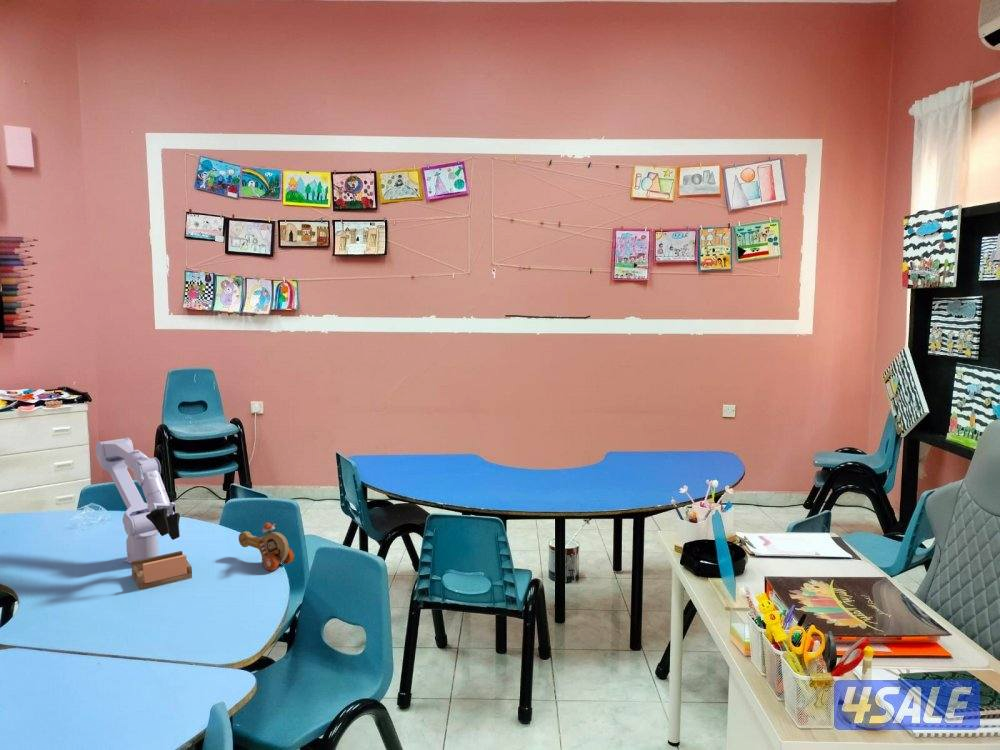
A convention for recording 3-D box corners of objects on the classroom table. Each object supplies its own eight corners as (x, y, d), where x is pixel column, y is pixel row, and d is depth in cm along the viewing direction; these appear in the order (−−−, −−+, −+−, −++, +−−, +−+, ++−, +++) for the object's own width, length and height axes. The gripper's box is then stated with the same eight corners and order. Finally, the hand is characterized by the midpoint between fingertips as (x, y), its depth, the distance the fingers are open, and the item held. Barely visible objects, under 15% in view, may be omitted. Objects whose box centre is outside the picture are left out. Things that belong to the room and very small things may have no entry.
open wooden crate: (132, 576, 206) (131, 561, 206) (182, 564, 215) (181, 550, 214) (140, 590, 197) (139, 575, 196) (192, 577, 205) (191, 563, 205)
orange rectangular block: (143, 582, 198) (142, 563, 198) (186, 572, 205) (185, 554, 204) (144, 583, 197) (143, 565, 197) (187, 573, 204) (186, 555, 203)
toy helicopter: (277, 573, 209) (275, 530, 207) (230, 559, 219) (228, 518, 217) (297, 564, 216) (295, 521, 214) (251, 551, 226) (249, 510, 224)
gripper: (159, 484, 201) (174, 526, 197) (178, 494, 214) (193, 533, 210) (135, 495, 199) (149, 537, 195) (156, 504, 213) (170, 544, 209)
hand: (170, 536), depth 203 cm, fingers open, 7 cm apart
